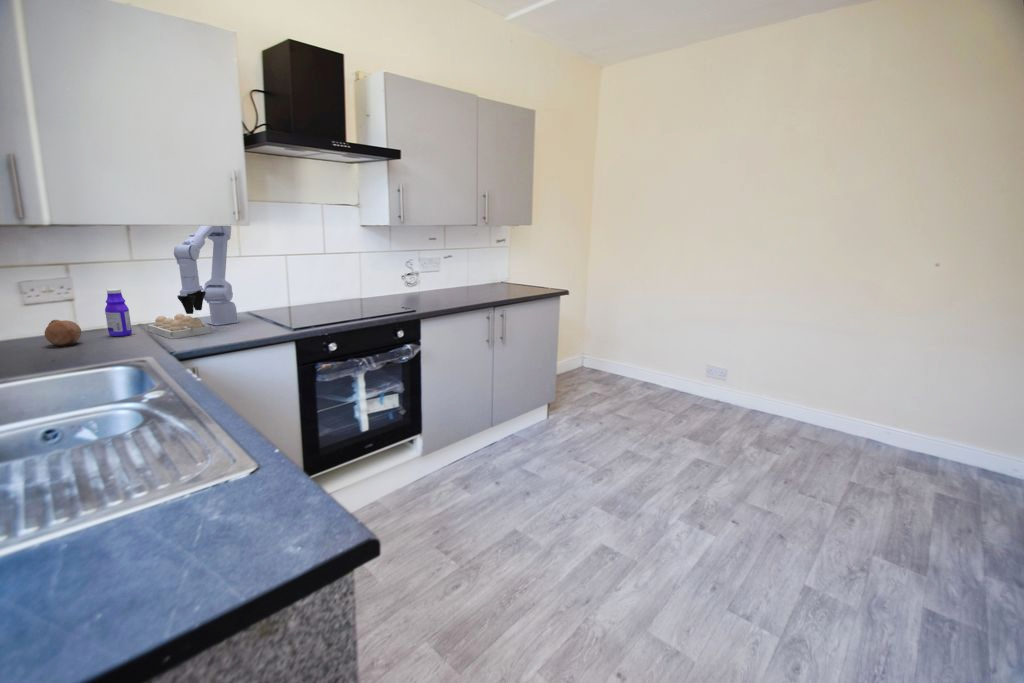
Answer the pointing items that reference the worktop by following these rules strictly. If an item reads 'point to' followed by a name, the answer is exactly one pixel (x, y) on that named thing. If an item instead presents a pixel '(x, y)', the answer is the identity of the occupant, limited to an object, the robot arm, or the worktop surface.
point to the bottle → (117, 314)
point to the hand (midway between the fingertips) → (194, 312)
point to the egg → (195, 323)
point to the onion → (62, 332)
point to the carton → (176, 327)
